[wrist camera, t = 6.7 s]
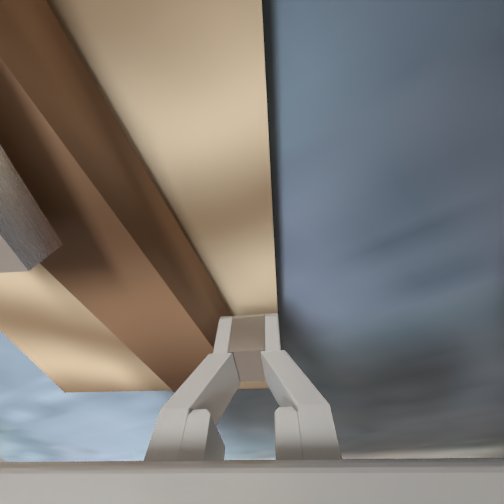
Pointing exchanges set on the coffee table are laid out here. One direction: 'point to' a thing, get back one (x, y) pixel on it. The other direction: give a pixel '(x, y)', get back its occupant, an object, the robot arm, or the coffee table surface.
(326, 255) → the coffee table surface
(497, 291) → the coffee table surface
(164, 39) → the base board
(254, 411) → the coffee table surface
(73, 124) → the link
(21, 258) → the keeper
